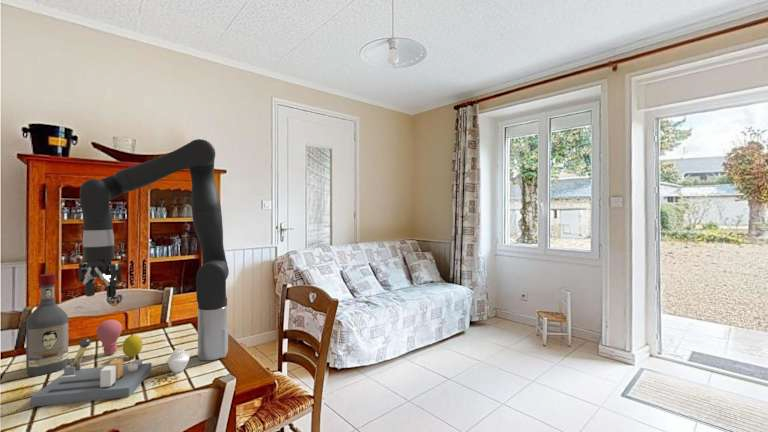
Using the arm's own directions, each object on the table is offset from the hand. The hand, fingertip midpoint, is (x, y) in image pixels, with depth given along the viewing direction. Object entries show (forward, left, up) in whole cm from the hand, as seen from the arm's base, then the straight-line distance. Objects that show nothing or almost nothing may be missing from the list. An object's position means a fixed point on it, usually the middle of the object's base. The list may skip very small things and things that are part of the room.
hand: (100, 296), depth 109 cm
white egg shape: (-23, +3, -24) cm, 33 cm away
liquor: (+17, -7, -24) cm, 30 cm away
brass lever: (+5, +4, -20) cm, 21 cm away
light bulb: (+4, -16, -24) cm, 29 cm away
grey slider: (-9, +15, -21) cm, 27 cm away
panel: (-4, +10, -24) cm, 26 cm away
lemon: (-5, -11, -24) cm, 27 cm away
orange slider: (-9, +11, -21) cm, 25 cm away
